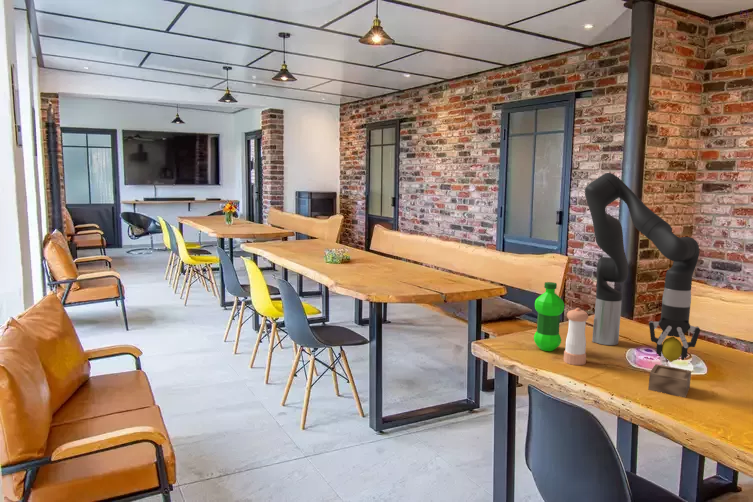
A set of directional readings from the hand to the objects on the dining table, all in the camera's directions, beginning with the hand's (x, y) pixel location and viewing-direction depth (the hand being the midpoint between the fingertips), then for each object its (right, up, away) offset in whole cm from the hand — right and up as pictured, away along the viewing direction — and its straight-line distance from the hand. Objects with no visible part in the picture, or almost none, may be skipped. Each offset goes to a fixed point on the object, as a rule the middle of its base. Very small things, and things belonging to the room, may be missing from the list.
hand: (671, 357), depth 170 cm
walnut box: (0, -10, +1) cm, 10 cm away
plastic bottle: (-26, -4, +38) cm, 47 cm away
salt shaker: (-21, -6, +25) cm, 33 cm away
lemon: (0, -2, 0) cm, 2 cm away
